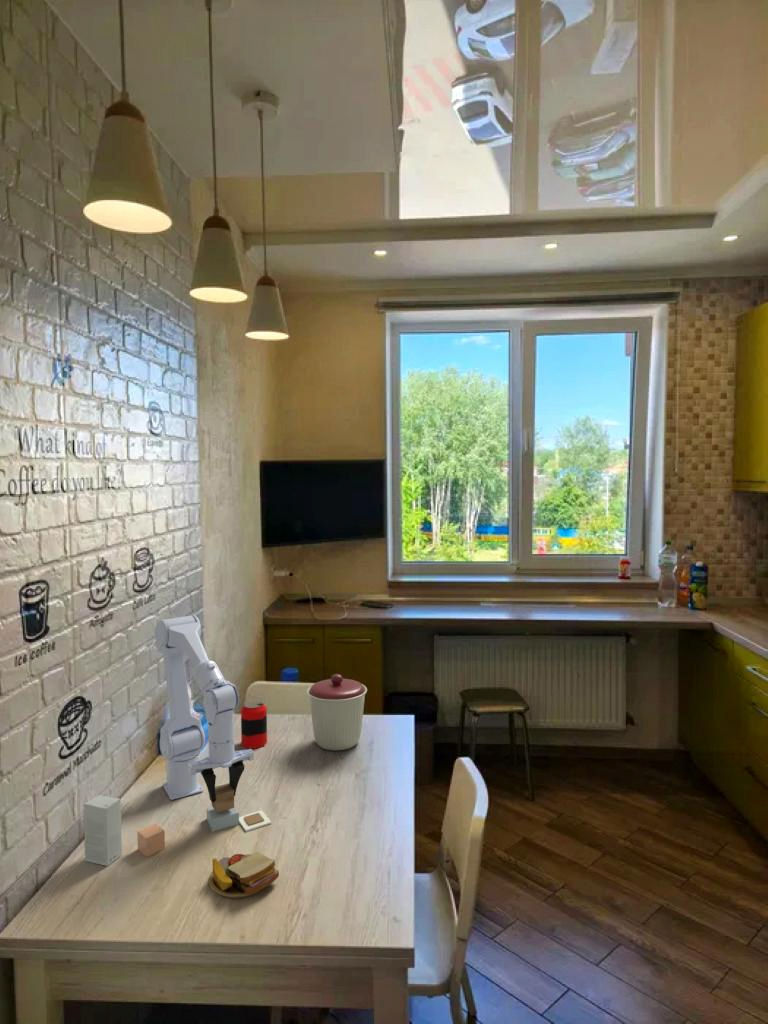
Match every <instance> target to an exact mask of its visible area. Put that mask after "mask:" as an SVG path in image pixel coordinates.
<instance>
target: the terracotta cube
mask: <svg viewBox="0 0 768 1024" xmlns="http://www.w3.org/2000/svg"><path fill="white" fill-rule="evenodd" d="M165 834H166V833H165V829H163V828H162V827H161V826H160V825H158V823H156V822H155V823H154V824H151V825H147V826H146V827H144V828H141V829H138V831H137V834H136V835H137V850H138V851H139V852H141V854H142V855H143V856H144V857H146V858H147V857H150V856H152V855H154V854H156V853H158V852H160V851H162V850H164V849H166V848H165V843H166V840H165V838H166V837H165Z"/></svg>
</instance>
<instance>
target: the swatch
mask: <svg viewBox="0 0 768 1024" xmlns="http://www.w3.org/2000/svg"><path fill="white" fill-rule="evenodd" d="M271 824H272V821H271V820H270V818H269V817H268V816H267V815H266V813H265V812H264V811H263V810H262V809H261V810H257V811H254V812H251V813H248V814H245V815H242V816H239V825H240V826H241V827H242V829H243V831H244V832H249V831H250V832H251V831H252V830H256V829H259V828H262V827H266V826H268V825H271Z"/></svg>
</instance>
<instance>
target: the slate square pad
mask: <svg viewBox="0 0 768 1024" xmlns="http://www.w3.org/2000/svg"><path fill="white" fill-rule="evenodd" d="M239 817H240V812H239V810H238V808H237V807H236V805H235V804H234V808H232V809H228V810H225V811H222V812H218V813H217V812H216V811H215V809H214V808H213V806H212V805H211V806H207V807H206V821H207V823H208V824H209V828H210V830H211V832H212V833H213V832H215V831H217V832H218V831H221V830H223V829H228V828H231V827H235V826H238V825H240V823H239Z"/></svg>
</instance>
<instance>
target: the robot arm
mask: <svg viewBox="0 0 768 1024" xmlns="http://www.w3.org/2000/svg"><path fill="white" fill-rule="evenodd" d="M201 627H202V626H201V621H200V619H199V618H198V616H197V615H195V614H190V615H187V616H181V617H179V616H178V617H174V618H167V619H159V620H158V621H157V622H156V625H155V628H154V637H155V638H154V639H155V647H156V651H157V653H161V654H162V657H163V664H164V673H165V675H164V676H165V680H166V681H165V682H166V690H167V699H168V708H169V719H168V720H167V721H166V722H165V723H164V724H163V725H162V726H161V728H160V738H159V749H160V753H161V755H162V756H163V758H164V759H165V760H166V763H165V764H166V766H165V767H166V768H165V769H166V781H165V782H163V783H162V787H163V788H164V790H165V792H166V793H167V796H168V797H169V799H170V801H173V800H177V799H181V798H183V797H187V796H191V795H194V794H199V793H202V792H204V788H203V787H202V786H201V783H200V782H199V773H200V774H201V776H202V777H203V780H204V783H205V784H206V788H207V791H208V796H209V800H210V801H211V803H212V802H215V787H216V779H217V775H216V774H215V771H214V769H218V768H222V769H226V768H228V774H229V775H228V776H229V777H228V781H229V782H228V783H229V785H230V786H231V787H232V789H233V790H234V797H235V796H236V792H237V789H238V784H239V782H240V779H241V777H242V775H243V773H244V771H245V766H246V765H245V764H244V761H245V762H246V761H254V760H255V759H254V758H255V756H254V755H255V752H254V751H253V749H249V748H247V749H243V750H242V749H241V750H235V710H234V709H237V708H238V706H239V703H240V696H239V692H238V689H237V687H236V685H235V684H234V683H231V682H230V681H229V680H226V679H225V677H224V675H223V673H222V672H221V670H220V668H219V666H218V664H217V662H215V661H213V660H210V659H209V657H208V654H207V652H206V649H205V647H204V644H203V642H202V640H201V634H202V628H201ZM184 653H185V655H186V656H187V658H188V660H189V661H190V662H191V664H192V665H193V667H194V670H193V677H194V680H195V681H196V684H197V685H198V687H199V690H200V691H201V693H202V695H203V699H202V705H203V709H204V713H205V719H206V720H205V721H207V722H208V724H207V726H208V729H207V730H208V756H207V757H204V758H202V759H200V760H199V755H200V754H201V749H203V748H204V746H205V743H206V735H205V731H204V729H203V725H202V721H201V719H200V718H198V717H196V716H194V715H192V714H191V707H190V706H191V705H190V697H189V689H188V681H187V675H186V674H187V673H186V665H185V662H186V661H185V656H184Z"/></svg>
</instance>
